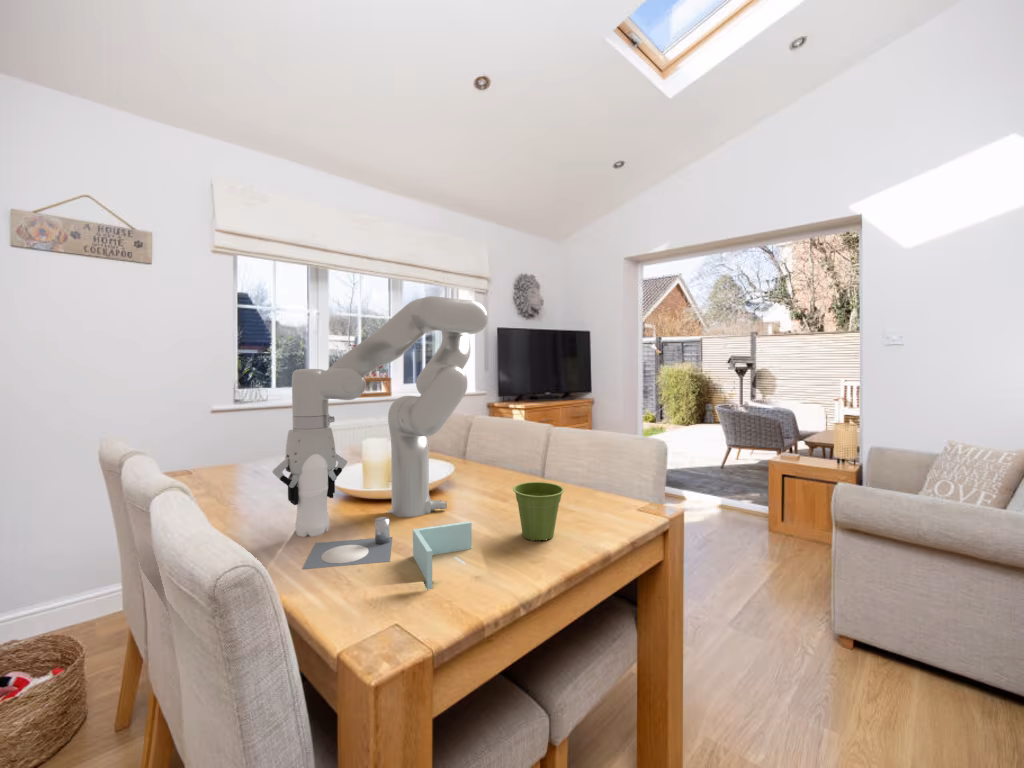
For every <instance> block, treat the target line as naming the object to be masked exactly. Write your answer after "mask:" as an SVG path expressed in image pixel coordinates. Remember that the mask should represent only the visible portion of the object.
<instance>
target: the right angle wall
mask: <svg viewBox="0 0 1024 768" xmlns="http://www.w3.org/2000/svg"><path fill="white" fill-rule="evenodd" d="M472 530H473V529H472V522H471V521H469V520H468V521H462V522H455V523H448V524H442V525H436V526H428V527H421V528H413V529H412V556H413V558H414V561H415V562H416V565H418V568H419V570H420V571H421V573H422V575H423V576H424V579H425V580H422V583H423V582H424V583H423V584H425V585H424V587H425V586H426V587H425V589H426V588H427V589H426V590H427V591H429V590H428V589H432V590H433V556H435V555H436V556H437V555H442V554H448V553H453V552H458V551H465V550H470V549H472V538H473V537H472V535H473V534H472ZM453 559H455V560H456V562H457V561H458V562H459V563H460V564H462V565H466V562H465V561H464V560H462V559H460V558H459V557H457V556H453Z"/></svg>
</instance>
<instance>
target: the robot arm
mask: <svg viewBox="0 0 1024 768" xmlns="http://www.w3.org/2000/svg"><path fill="white" fill-rule="evenodd" d="M488 320H489V315H488V312H487V310H486V308H485V307H484V306H483V305H482V304H481V303H480V302H478V301H475V300H469V299H459V298H452V297H443V296H435V295H434V296H432V295H431V296H424V297H421V298H416V299H413V300H412V301H410V302H409V303H407V304H406V305H405V306H404V307H402V308H401V309H400V310H399V311H398V312H396V313H395V314H394V315H393V316H392V317H391V318H390V319H389V320H387V321H386V322H385V323H384V324H383V325H382V326H381V327H379V328H378V329H377V330H375V332H374V333H372V334H371V335H369V336H368V337H366V338H365V339H363V340H362V341H361V342H359V344H357V345H355V346H354V347H353V348H351V349H350V350H349V351H347V352H346V353H345V354H344V355H343V356H342V357H340V358H339V359H338V360H336V361H335V363H333V364H332V365H331V366H330V367H329V368H327V370H324V369H321V368H299V369H295V370H294V371H293V372H292V375H291V394H292V395H291V396H292V397H291V400H292V401H291V402H292V404H291V405H292V409H291V410H292V429H289V430H288V432H287V435H286V436H287V437H286V438H287V439H286V445H285V454H284V455H285V456H284V457H285V458H284V459H283V460H282V462H281V463H279V464H278V465H277V466H276V467H275V468H274V469H273V470H271V471H272V473H273V475H274V476H275V477H276V478H277V479H278V480H279V481H281V482H282V483H283V484H285V485H286V486H287V499H288V500H287V501H288V502H290V503H291V504H292V505H294V506H297V504H298V487H296V483H297V481H298V479H299V475H301V474H302V467H303V464H304V463H305V461H306V460H307V459H308V458H309V457H310V456H312V455H314V454H319V455H321V456H322V457H323V458H324V459H325V460H326V462H327V464H328V467H327V470H328V492H327V498H329V499H333V498H334V494H335V493H336V486H335V485H336V480H337V478H338V477H339V475H340V474H341V473H342V471H343V469H344V468H345V467H346V466H347V464H348V460H347V459H345V458H344V457H342V456H340V455H339V454H337V453H336V444H335V437H334V433H333V430H332V427H329V426H331V425H330V424H331V423H335V421H336V419H335V416H331V415H330V413H329V400H341V401H352V400H355V399H358V398H359V397H360V396H362V395H363V393H364V392H365V390H366V386H367V382H366V378H365V377H366V376H367V375H368V374H370V373H372V371H373V372H374V370H376V369H377V368H380V367H382V366H384V365H387V364H390V363H392V362H394V361H395V360H398V359H399V358H400V357H401V356H403V355H404V353H406V352H407V351H408V350H409V349H410V348H411V347H412V346H414V344H415V343H417V342H418V341H419V340H420V339H421V338H422V337H423V336H424V335H425V334H426V333H428V332H433V331H439V332H441V338H442V339H441V343H440V345H439V347H438V349H437V351H436V352H435V353H434V354H433V356H432V357H431V358H430V360H429V361H428V362H427V364H426V365H425V366H424V367H423V368H422V370H421V371H420V373H419V374H418V376H417V378H416V382H415V385H416V387H415V388H416V390H417V392H418V393H419V395H420V396H415V395H404V396H401V397H398V398H396V399H395V400H394V401H393V402H392V403H391V405H390V407H389V409H388V415H387V421H388V427H389V428H388V430H389V434H390V448H391V451H390V453H391V458H390V459H391V460H390V463H391V467H390V468H391V473H390V474H391V509H389V510H387V511H386V514H389V513H391V514H392V515H393V516H395V517H398V518H414V517H415V518H416V517H420V516H424V515H427V514H431V513H432V512H435V510H447V508H448V507H447V504H448V503H447V501H444V500H443V501H442V499H437V500H433V499H431V495H430V489H429V488H430V464H429V463H430V461H429V460H430V448H429V447H430V446H429V439H428V438H429V437H431V436H434V435H435V434H437V433H439V431H440V430H441V429H442V428H443V427H444V426H445V424H446V423H447V421H448V420H449V418H450V417H451V415H452V414H453V413H454V412H455V410H456V409H457V407H458V406H459V404H460V403H461V402H462V400H463V398H464V396H465V395H466V392H467V389H468V377H467V374H466V372H465V371H464V370H463V369H464V368H465V366H466V364H467V362H468V361H469V359H470V356H471V343H470V335H474V334H479V333H480V332H481V331H483V330H484V329H485V328H486V326H487V324H488ZM337 463H338V464H337ZM336 465H337V466H336ZM284 470H285V471H286V472H287V473H289V475H288V477H287V476H286V475H285V474H284V473H283V472H284Z"/></svg>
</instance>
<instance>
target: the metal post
mask: <svg viewBox="0 0 1024 768" xmlns="http://www.w3.org/2000/svg"><path fill="white" fill-rule="evenodd" d="M390 524H391V523H390V517H389V516H379V517H376V518H375V519H374V536H375V537H374V538H375V543H376V544H379V545H383V544H387V543H389V542H390V537H391V535H390Z"/></svg>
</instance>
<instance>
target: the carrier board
mask: <svg viewBox="0 0 1024 768" xmlns="http://www.w3.org/2000/svg"><path fill="white" fill-rule="evenodd" d="M392 546H393V536H390V542H389V543H387V544H383V545H379V544H376V543H375V537H374V538H373V537H371V538H363V539H350V540H349V539H348V540H347V539H346V540H335V541H324V542H323V541H322V542H315V543H314V545H313V547H312V549H311V551H310V553H309V554H308V557H307V559H306V560H305V562H304V564H303V566H302V568H301V570H309V569H323V568H334V567H344V566H356V565H366V564H378V563H390V562H391V555H392Z"/></svg>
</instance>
